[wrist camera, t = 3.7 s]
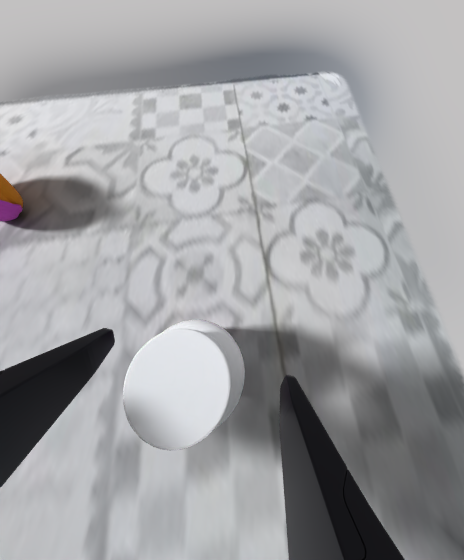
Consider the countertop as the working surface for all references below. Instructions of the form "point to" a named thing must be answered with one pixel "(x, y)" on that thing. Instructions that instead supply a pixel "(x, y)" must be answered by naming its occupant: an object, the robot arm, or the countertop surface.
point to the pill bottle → (183, 384)
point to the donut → (9, 201)
